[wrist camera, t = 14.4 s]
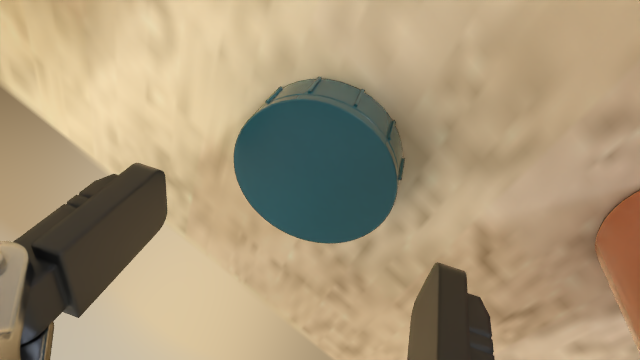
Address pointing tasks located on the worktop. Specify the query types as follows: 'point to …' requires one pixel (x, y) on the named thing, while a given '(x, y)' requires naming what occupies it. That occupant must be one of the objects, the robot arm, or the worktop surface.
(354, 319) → the worktop surface
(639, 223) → the jam jar
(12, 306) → the robot arm
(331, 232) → the jar lid
